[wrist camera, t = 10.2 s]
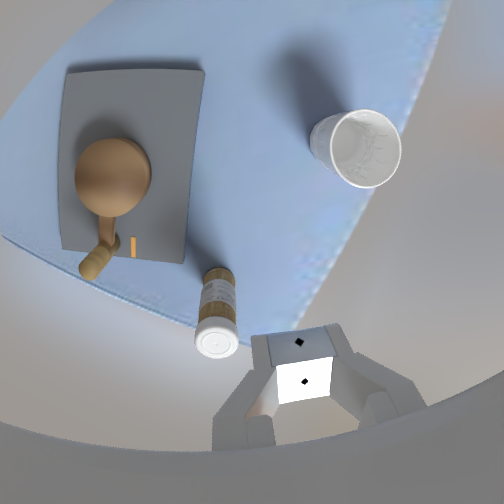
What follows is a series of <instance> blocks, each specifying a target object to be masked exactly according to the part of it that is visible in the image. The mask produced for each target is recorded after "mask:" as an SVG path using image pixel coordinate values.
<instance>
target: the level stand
mask: <svg viewBox="0 0 504 504" xmlns="http://www.w3.org/2000/svg"><path fill="white" fill-rule="evenodd" d="M204 79H205V72H204V71H198V70H181V69H119V70H102V71H90V72H80V73H71V74H67V75H66V81H65V88H64V95H63V103H62V113H61V123H60V137H59V161H58V192H59V216H60V230H61V242H62V249H64V250H71V251H79V252H87V253H90V252H91V251H92V250H93V249H94V248H95V247H96V246H97V245H98V229H99V215H98V214H95V213H94V212H92V211H91V210H89V209H88V208H87V207H86V206H85V205H84V204H83V202H82V201H81V199H80V198H79V196H78V193H77V191H76V187H75V168H76V165H77V162H78V160H79V158H80V156H81V154H82V153H83V152H84V150H85V149H86V148H87V147H89V146H90V145H91V144H93V143H94V142H97V141H99V140H103V139H109V138H116V137H122V138H127V139H130V140H132V141H134V142H136V143H137V144H139V145H140V146H141V147H142V148H143V150H144V151H145V152H146V154H147V156H148V158H149V160H150V163H151V168H152V179H151V184H150V187H149V190H148V192H147V193H146V195H145V197H144V198H143V199H142V200H141V201H140V202H139V203H138V204H137V205H136V206H134V207H133V208H132V209H131V210H130V211H128V212H127V213H125V214H123V215H120V216H116V223H115V235H116V236H117V237H118V238H119V239H120V243H121V245H120V248H119V249H118V251H117V252H116V253H115V254H114V255H113V256H118V257H127V258H135V259H143V260H152V261H160V262H169V263H178V264H183V262H184V259H185V247H186V233H187V220H188V208H189V197H190V186H191V176H192V167H193V158H194V150H195V141H196V133H197V126H198V119H199V111H200V105H201V98H202V91H203V85H204Z"/></svg>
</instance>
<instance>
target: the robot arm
mask: <svg viewBox="0 0 504 504" xmlns="http://www.w3.org/2000/svg"><path fill="white" fill-rule="evenodd" d="M251 346H252V355H253V364H254V370H249V372H248V373H247V374H246V376H245V377H244V378H243V380H242V381H241V382H240V384H239V385H238V386H237V388H236V389H235V390H234V392H233V393H232V394H231V395H230V397H229V398H228V399H227V401H226V402H225V403H224V405H223V406H222V407H221V408H220V410H219V411H218V412H217V413H216V415H215V416H214V417H213V429H212V431H213V432H212V451H202V452H175V451H151V450H150V451H149V450H136V449H125V448H116V447H108V446H101V445H93V444H88V443H82V442H76V441H71V440H66V439H61V438H56V437H52V436H48V435H44V434H40V433H36V432H32V431H29V430H25V429H21V428H19V427H15V426H12V425H9V424H6V423H3V422H1V421H0V504H504V370H503V371H502V372H500V373H498V374H496V375H494V376H493V377H491V378H489V379H487V380H485V381H483V382H481V383H479V384H477V385H475V386H473V387H471V388H469V389H467V390H465V391H463V392H461V393H459V394H457V395H454V396H452V397H450V398H448V399H445V400H443V401H441V402H438V403H436V404H433V405H431V406H428V407H427V405H426V403H425V402H424V400H423V399H422V396H421V395H420V393H419V392H418V390H417V388H416V386H415V385H414V383H413V381H411V380H409V379H407V378H406V377H404V376H402V375H400V374H398V373H396V372H394V371H392V370H390V369H388V368H386V367H384V366H383V365H380V364H378V363H377V362H375V361H373V360H371V359H369V358H367V357H366V356H364V355H362V354H360V353H358V352H357V353H353V350H352V348H351V346H350V344H349V342H348V340H347V339H346V336H345V335H344V333H343V331H342V329H341V327H340V325H339V324H338V323H335V324H329V325H324V326H321V327H315V328H309V329H303V330H296V331H288V332H279V333H270V334H263V335H254V336H251ZM324 395H329V396H330V397H331V398H332V399H333V400H335V401H336V402H337V403H338V404H340V405H341V406H342V407H343V408H344V409H346V410H347V411H348V412H349V413H351V414H352V415H353V416H354V417H355V418H357V419H358V420H359V421H360V423H359V427H358V430H355V431H351V432H347V433H343V434H338V435H335V436H330V437H325V438H320V439H315V440H309V441H304V442H298V443H292V444H285V445H278V446H276V442H275V435H274V429H273V423H272V418H273V417H274V415H275V413H276V411H277V409H278V407H279V405H280V403H283V402H289V401H295V400H300V399H305V398H312V397H317V396H324Z"/></svg>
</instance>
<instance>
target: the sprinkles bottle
mask: <svg viewBox="0 0 504 504" xmlns="http://www.w3.org/2000/svg"><path fill="white" fill-rule="evenodd" d="M195 345H196V347H197V349H198V350H199V351H200V352H201V353H202V354H204V355H205V356H207V357H210V358H224V357H227V356H229V355H231V354H232V353H234V351H235V350H236V349H237V347H238V329H237V326H236V297H235V279H234V276H233V275H232V273H231V272H230V271H228V270H226V269H224V268H214V269H211V270H210V271H208V272H207V273H206V274H205V276H204V278H203V289H202V293H201V299H200V307H199V320H198V325H197V327H196V331H195Z"/></svg>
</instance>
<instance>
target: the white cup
mask: <svg viewBox="0 0 504 504" xmlns="http://www.w3.org/2000/svg"><path fill="white" fill-rule="evenodd" d="M310 149H311V151H312V153H313V155H314V157H315V159H317V160H318V161H319V162H320V163H321V164H323V166H324V167H326V168H327V169H329V170H330V171H331V172H333V173H334V174H336V175H337V176H339V177H340V178H342V179H343V180H345V181H346V182H348V183H349V184H351V185H353V186H356V187H360V188H373V187H376V186H379V185H381V184H383V183H385V182H386V181H387V180H388V179H390V177H391V176H392V175H393V174H394V173H395V171H396V169H397V167H398V165H399V162H400V158H401V141H400V137H399V134H398V132H397V130H396V128H395V126H394V125H393V123H392V122H391V121H390V120H389V119H388V118H387V117H386V116H384V115H383V114H381V113H379V112H377V111H375V110H371V109H357V110H353V111H348V112H343V113H338V114H335V115H332V116H330V117H327V118H323V119H322V120H321V121H319V122H318V123H317V124H315V126H314V128H313V130H312V132H311V134H310Z"/></svg>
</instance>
